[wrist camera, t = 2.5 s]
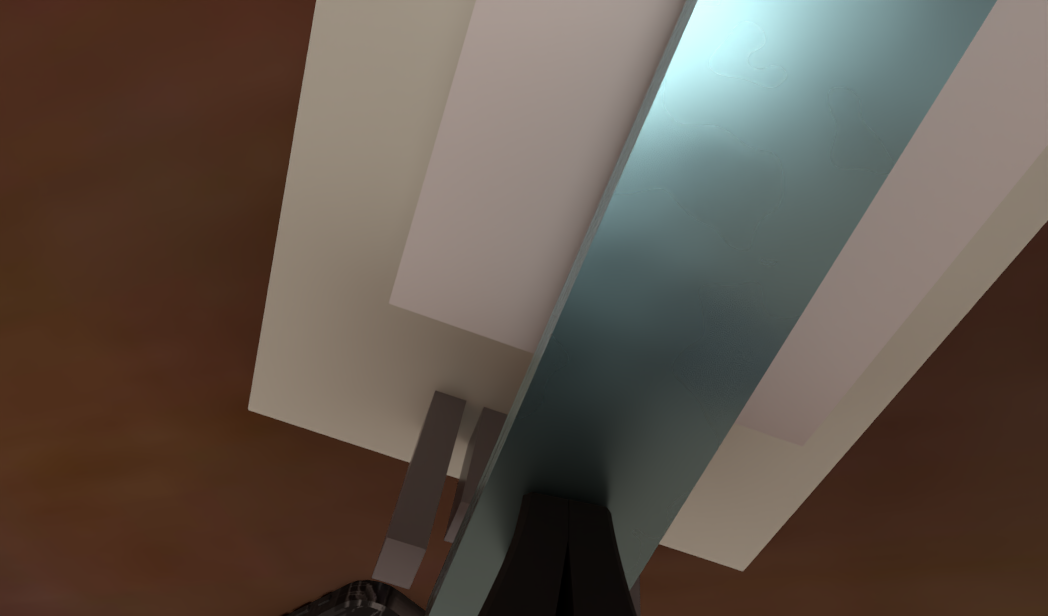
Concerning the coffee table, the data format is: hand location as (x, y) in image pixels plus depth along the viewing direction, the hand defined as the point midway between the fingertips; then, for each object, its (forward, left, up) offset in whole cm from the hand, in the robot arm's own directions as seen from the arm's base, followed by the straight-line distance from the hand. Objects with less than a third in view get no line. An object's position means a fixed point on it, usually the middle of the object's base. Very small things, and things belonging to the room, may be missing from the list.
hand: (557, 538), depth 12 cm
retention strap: (0, -5, -2) cm, 6 cm away
